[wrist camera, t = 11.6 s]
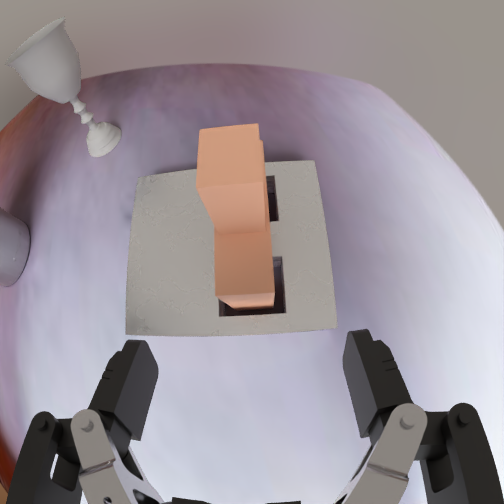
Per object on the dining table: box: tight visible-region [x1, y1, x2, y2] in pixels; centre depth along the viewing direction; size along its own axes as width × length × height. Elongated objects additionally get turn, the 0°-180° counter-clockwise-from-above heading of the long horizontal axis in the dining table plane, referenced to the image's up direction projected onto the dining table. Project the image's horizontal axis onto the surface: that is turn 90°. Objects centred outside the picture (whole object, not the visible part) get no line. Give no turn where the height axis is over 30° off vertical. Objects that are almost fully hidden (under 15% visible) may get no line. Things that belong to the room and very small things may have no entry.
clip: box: [196, 124, 275, 311], centre depth 17 cm, size 3×10×14 cm, turn 3°
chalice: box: [5, 17, 121, 157], centre depth 21 cm, size 7×7×18 cm
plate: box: [126, 160, 337, 337], centre depth 22 cm, size 16×14×3 cm
